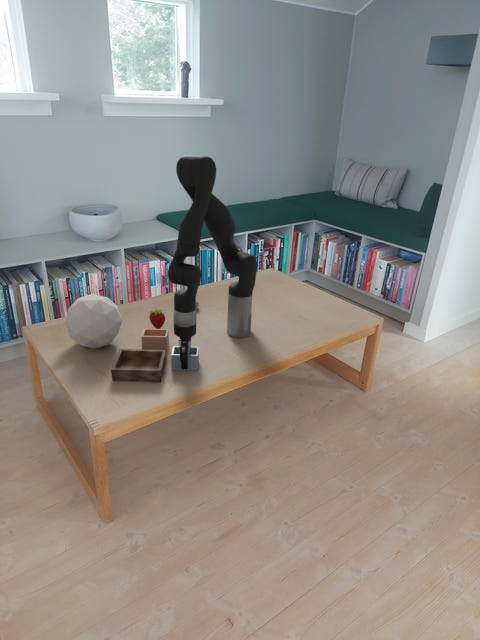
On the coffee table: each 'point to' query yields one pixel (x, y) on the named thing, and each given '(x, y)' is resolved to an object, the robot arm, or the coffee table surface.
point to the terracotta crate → (155, 339)
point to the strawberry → (157, 318)
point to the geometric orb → (93, 321)
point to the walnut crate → (139, 365)
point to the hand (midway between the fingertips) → (185, 363)
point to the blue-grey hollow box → (192, 356)
